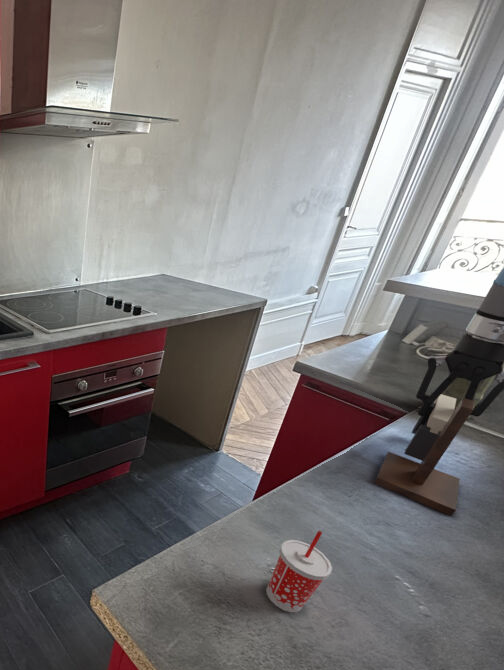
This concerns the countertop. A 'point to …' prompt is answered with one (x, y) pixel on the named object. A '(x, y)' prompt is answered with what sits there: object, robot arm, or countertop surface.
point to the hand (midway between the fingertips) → (429, 432)
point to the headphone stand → (427, 469)
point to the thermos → (460, 388)
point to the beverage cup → (297, 574)
